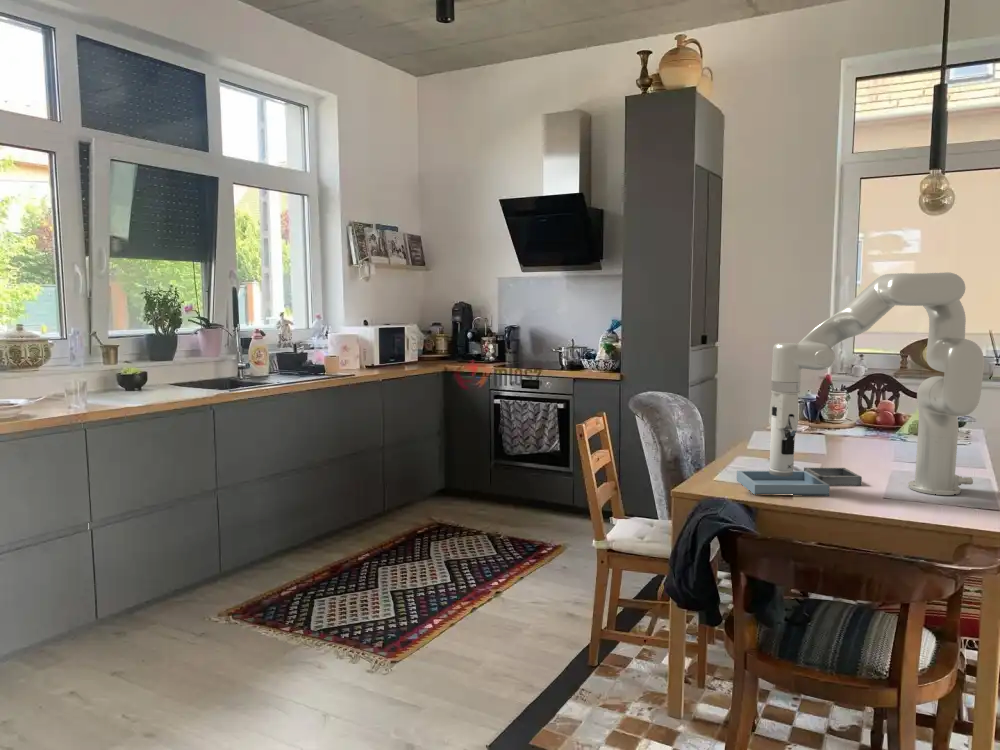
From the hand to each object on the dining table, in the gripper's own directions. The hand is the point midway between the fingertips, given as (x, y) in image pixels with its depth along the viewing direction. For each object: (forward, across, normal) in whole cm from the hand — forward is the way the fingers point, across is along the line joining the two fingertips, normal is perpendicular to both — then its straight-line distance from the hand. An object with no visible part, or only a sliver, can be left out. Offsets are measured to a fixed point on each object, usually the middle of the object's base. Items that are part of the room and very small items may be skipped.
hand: (782, 450), depth 207 cm
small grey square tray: (+11, -9, +18) cm, 23 cm away
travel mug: (+7, 0, 0) cm, 7 cm away
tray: (+11, 0, 0) cm, 11 cm away
